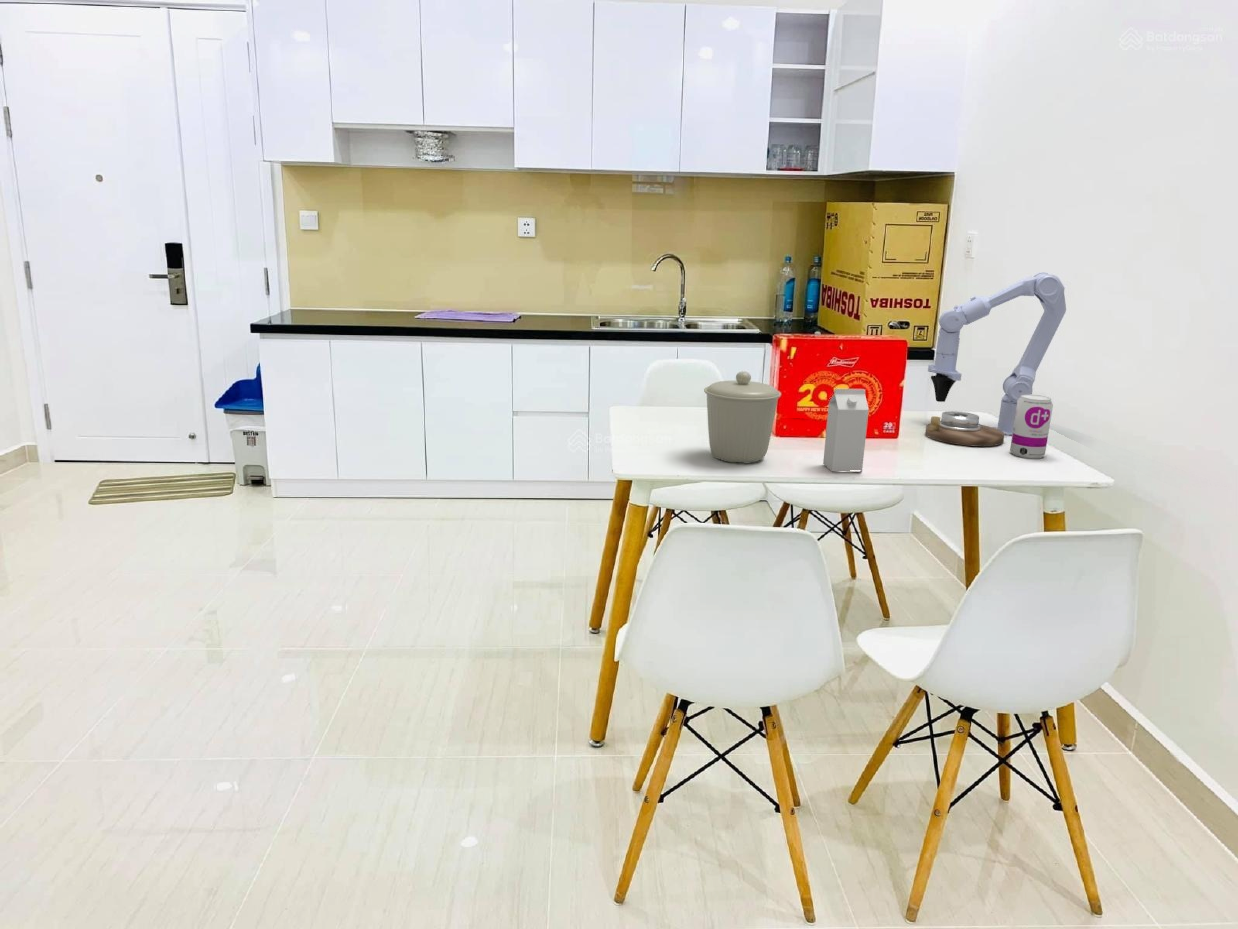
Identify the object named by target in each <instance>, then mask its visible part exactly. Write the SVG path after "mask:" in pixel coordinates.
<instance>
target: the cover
mask: <svg viewBox="0 0 1238 929" xmlns="http://www.w3.org/2000/svg"><path fill="white" fill-rule="evenodd" d="M940 418H941V419H940V427H941V428H943V429H947V430H952V431H960V432H976V431H980V429H981V426H980V425H981V424H980V423H979V421H980V416H979V415H977V414H976V413H975V414H974V413H970V412H966V411H965V412H963V411H953V410H952V411H950V410H949V411H944V412H943V411H942V413H941V417H940ZM978 424H980V425H978Z"/></svg>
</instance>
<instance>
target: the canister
mask: <svg viewBox="0 0 1238 929" xmlns="http://www.w3.org/2000/svg"><path fill="white" fill-rule="evenodd" d="M751 379H752V375H751V374H750V373H749V372H747V371H739V372H738V373H737V374H736V375H735V380H723V381H716V382H714V383H711V384H710V385H709V386H706V387H704V388H703V390H704V393H705V394H706V410H707V428H708V429H707V430H708V441H709V442H708V444H709V449H710V452H711V455H713V457H714V458H716V459H718V460H720V459H721V461H723V460H724V462H727V461H729V463H733V462H752V463H756V461H757V462H759V460H760V461H762V460H763V459H764V457H766V455H767V452H768V450H769V446H770V441H771V436H772V433H773V432H772V431H773V428H774V427H773V426H774V420H775V416H776V411H777V407H778V406H777V405H778V400H779V398H781V397H782V392H781V391H780V390H777V388H775V387H774V386H772V385H770V384H768V383H763V382H760V381H759V382H758V381H753V380H751Z"/></svg>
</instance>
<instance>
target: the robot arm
mask: <svg viewBox="0 0 1238 929" xmlns="http://www.w3.org/2000/svg"><path fill="white" fill-rule="evenodd" d="M1021 296H1022V297H1034V296H1035V297H1036V298H1037V299H1038V300H1039V302H1040V304H1041V306H1042V307H1041V308H1043V313H1042V315H1041V316H1040V319H1039V321H1038V323H1037V326H1036V327H1035V330H1034V331H1033V332H1032V333H1033V334H1032V335H1031V338H1030V340H1029V341H1028V344H1027V346H1026V348H1025V350H1024V352H1023V354H1022V356H1021V358H1020V360H1019V363H1018V364H1017V365H1016V366H1015V367H1014V369H1013V370H1012V372H1011V373H1010V374H1009V376H1008V377H1006V378H1005V379H1004V381H1003V383H1002V390H1003V392H1004V393H1005V394H1004V395H1003V396H1002V397H1001V401H1000V408H999V414H998V422H997V426H992V427H993V428H996V429H999V430H1001V431H1003V432H1004V436H1012V434H1013V427H1014V420H1015V414H1016V407H1017V401H1018V400H1019V398H1020V397H1021V395H1025V394H1031V395H1033V385H1034V383H1035V382H1036V374H1037V371H1038V369H1039V367H1040V364H1041V363H1042V361H1043V358H1044V356H1045V354H1046V352H1047V350H1048V349H1049V347H1050V344H1051V342H1052V341H1053V339H1054V336H1055V335H1056V332H1057V331H1058V328H1059V327H1060V324H1061V322H1062V320H1063V318H1064V316H1065V314H1066V311H1067V304H1066V297H1065V285H1064V284H1063V283H1062V281H1061V279H1060V278H1059V277H1058V276H1057V275H1055V274H1051V273H1048V272H1039V273H1036V274H1034V275H1033V276H1032V275H1031V276H1028V277H1026V278H1023V279H1020V280H1019V281H1016V282H1015V283H1012V284H1010V285H1009V286H1007V287H1005V288H1003V289H1001V290H999V291H997V292H995V293H993V294H991V295H990V296H988V297H984V296H980V295H979V296H977V297H976V295H973V296H972V297H970V300H968V301H966V302H964V303H962V304H960V305H957V304H956V305H953V309H947V310H945V311H944V312H942V313H941V315H940V317H939V319H938V323H939V324H938V325H939V326H940V328H939V331H938V336H937V343H936V344H937V345H936V351H935V358H934V359H935V360H934V364H928V368H927V372H929V373H933V374H935V375H930V380H931V381H932V384H933V388H934V394H935V401H936V402H939V403H942V402H943V403H945V402H946V400H947V398H948V395H949V393H950V390H951V389H952V387H953V386H954V384H955V383H956V382H957V381H958V382H960V381H962V373H961V372H959V371H958V370H956V369H957V368H956V367H957V361H958V353H959V348H960V335H961V334H960V332H961V330H962V328H963V327H964V326H965V325H966V326H968V325H970V324H972V323H975V322H976V321H979V320H981V319H982V318H985V317H987V316H989V315H990V312H991V310H993V308H995V307H998V306H1000V305H1003V304H1004V303H1007V302H1009V301H1012V300H1014V299H1016V298H1019V297H1021Z"/></svg>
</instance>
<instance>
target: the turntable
mask: <svg viewBox="0 0 1238 929" xmlns="http://www.w3.org/2000/svg"><path fill="white" fill-rule="evenodd" d="M941 418H942V417H941V416H933V415H932V416H930V422H929V423H927V424H926V426H925V435H926V436H927V437H928V438H931V439H933V440H936V441H938V442H943V443H947V444H953V445H958V446H959V445H960V446H969V447H971V446H972V447H992V446H998V445H1001V444H1003V443H1004V440H1005V434H1004V432H1003V431H1001V430H999V429H996V428H993V427H994V426H990V425H989V426H988V425H985V424H980V423H978V425H980V426H981V429H980V431H976V432H960V431H952V430H947V429H943V428H941V427H940V421H941Z"/></svg>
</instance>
